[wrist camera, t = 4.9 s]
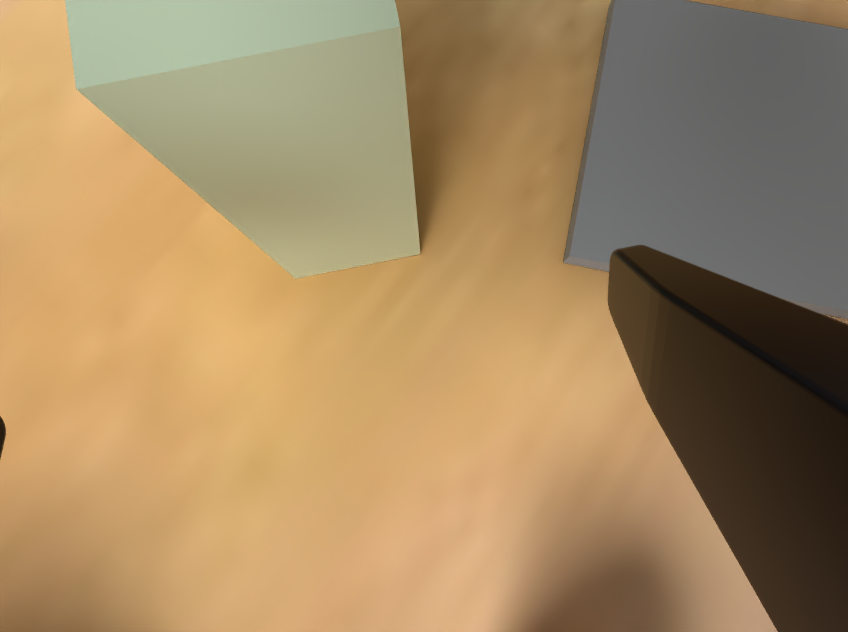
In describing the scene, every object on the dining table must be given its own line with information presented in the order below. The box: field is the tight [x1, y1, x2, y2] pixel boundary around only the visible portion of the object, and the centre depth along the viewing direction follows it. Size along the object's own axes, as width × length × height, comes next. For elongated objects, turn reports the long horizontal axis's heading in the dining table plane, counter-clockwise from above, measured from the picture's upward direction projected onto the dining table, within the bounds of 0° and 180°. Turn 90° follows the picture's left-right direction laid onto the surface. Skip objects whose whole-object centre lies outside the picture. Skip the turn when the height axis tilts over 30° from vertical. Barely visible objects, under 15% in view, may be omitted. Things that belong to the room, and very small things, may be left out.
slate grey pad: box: [563, 0, 848, 319], centre depth 21 cm, size 10×10×1 cm
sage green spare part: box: [65, 0, 420, 279], centre depth 15 cm, size 4×4×13 cm
